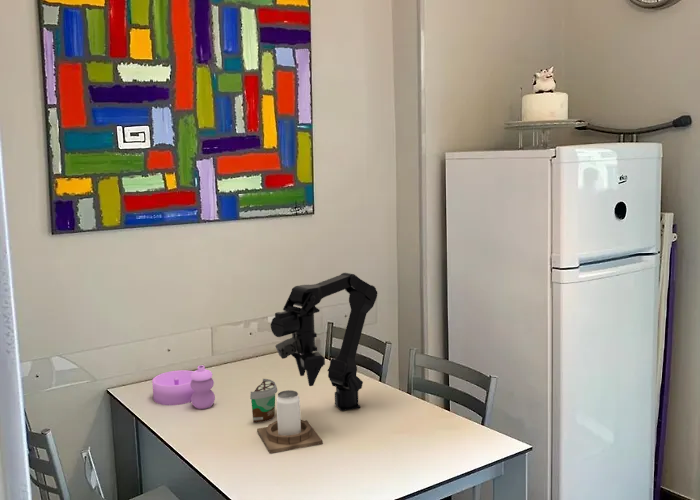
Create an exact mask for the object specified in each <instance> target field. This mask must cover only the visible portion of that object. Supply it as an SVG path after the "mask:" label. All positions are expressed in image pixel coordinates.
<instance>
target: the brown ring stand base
mask: <svg viewBox="0 0 700 500" xmlns="http://www.w3.org/2000/svg"><path fill="white" fill-rule="evenodd" d="M256 432H257V434H258V436H259V437H260V439H261V441H262V443H263V445H264V446H265V448H266V450H267V452H268V453H269V454H275V453H281V452H285V451H291V450H296V449H302V448H307V447H312V446H313V447H314V446H319V445H323V442H324V441H323V439H322V438H321V437H320V435H319V434H318V433H317V431H316V430H315V429H314V428H313V426H312V425H311V423H309V421H308V420H307V419H306V420H303V419H301V433H299V434H295V435H289V436H288V435H278V421H277V420H275V421H273V422H271V423H269V424H268V425H267V426H264V427H259V428H257V429H256Z"/></svg>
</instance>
